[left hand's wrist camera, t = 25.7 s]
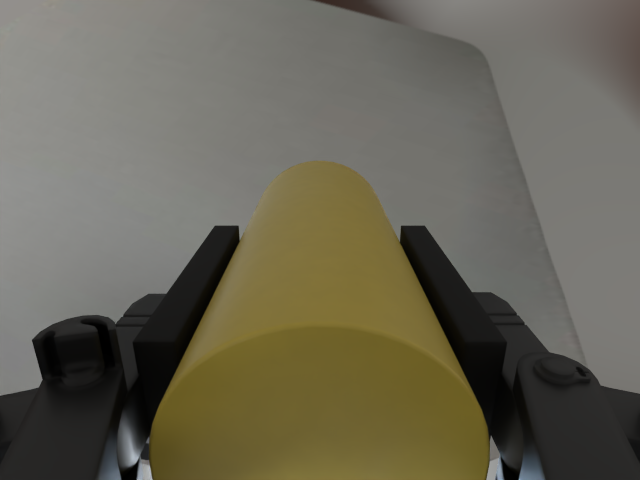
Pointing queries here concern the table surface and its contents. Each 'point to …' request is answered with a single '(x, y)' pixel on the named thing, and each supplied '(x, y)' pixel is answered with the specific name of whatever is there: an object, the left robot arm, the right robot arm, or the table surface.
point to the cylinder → (319, 354)
